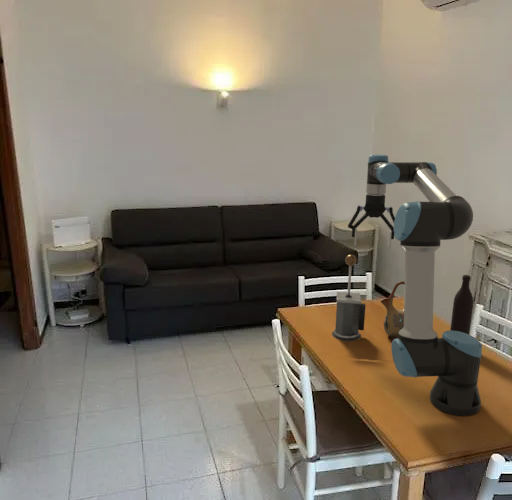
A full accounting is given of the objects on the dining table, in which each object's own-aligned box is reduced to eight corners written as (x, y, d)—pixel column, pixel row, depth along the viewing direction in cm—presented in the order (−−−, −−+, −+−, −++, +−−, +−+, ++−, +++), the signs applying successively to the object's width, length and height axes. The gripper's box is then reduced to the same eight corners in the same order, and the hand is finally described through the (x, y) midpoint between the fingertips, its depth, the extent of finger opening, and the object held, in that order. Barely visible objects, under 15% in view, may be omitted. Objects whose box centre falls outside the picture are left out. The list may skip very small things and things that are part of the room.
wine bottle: (467, 345, 199) (476, 274, 191) (466, 352, 193) (476, 279, 185) (449, 341, 202) (457, 272, 194) (447, 349, 196) (456, 277, 188)
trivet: (361, 343, 199) (361, 342, 199) (331, 341, 201) (331, 339, 201) (360, 331, 211) (360, 329, 211) (332, 329, 213) (332, 327, 212)
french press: (363, 341, 200) (366, 301, 196) (334, 338, 202) (336, 300, 197) (362, 331, 210) (365, 293, 205) (334, 328, 211) (336, 291, 207)
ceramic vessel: (413, 333, 209) (419, 277, 202) (420, 343, 200) (426, 285, 194) (375, 333, 209) (379, 277, 202) (380, 343, 200) (385, 284, 194)
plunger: (356, 314, 199) (359, 257, 193) (339, 313, 200) (342, 256, 194) (355, 308, 206) (359, 253, 199) (339, 307, 207) (342, 252, 200)
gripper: (407, 193, 197) (402, 245, 203) (344, 191, 202) (341, 241, 207) (409, 196, 190) (404, 249, 196) (343, 194, 194) (340, 246, 200)
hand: (372, 245), depth 201 cm, fingers open, 13 cm apart
